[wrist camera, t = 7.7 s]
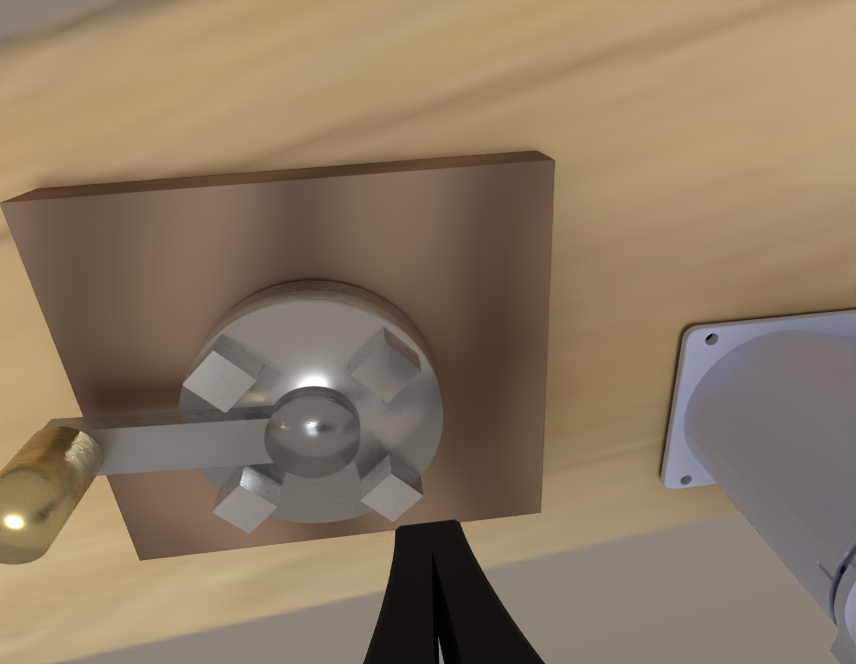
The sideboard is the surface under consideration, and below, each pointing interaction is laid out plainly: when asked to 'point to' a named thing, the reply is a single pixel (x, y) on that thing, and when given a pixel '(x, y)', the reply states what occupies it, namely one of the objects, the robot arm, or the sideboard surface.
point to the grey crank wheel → (259, 422)
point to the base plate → (307, 261)
